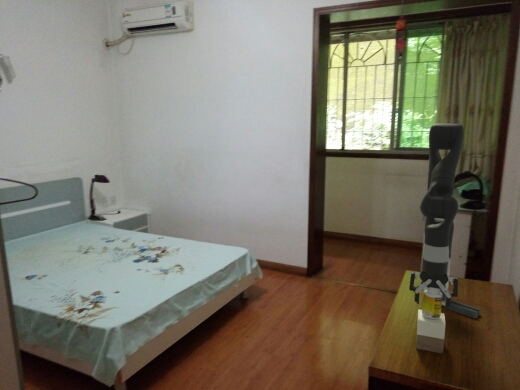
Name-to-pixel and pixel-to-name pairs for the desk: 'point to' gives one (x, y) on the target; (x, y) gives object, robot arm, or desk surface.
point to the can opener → (462, 308)
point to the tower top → (431, 326)
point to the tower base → (429, 343)
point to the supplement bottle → (432, 303)
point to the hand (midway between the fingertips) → (431, 305)
